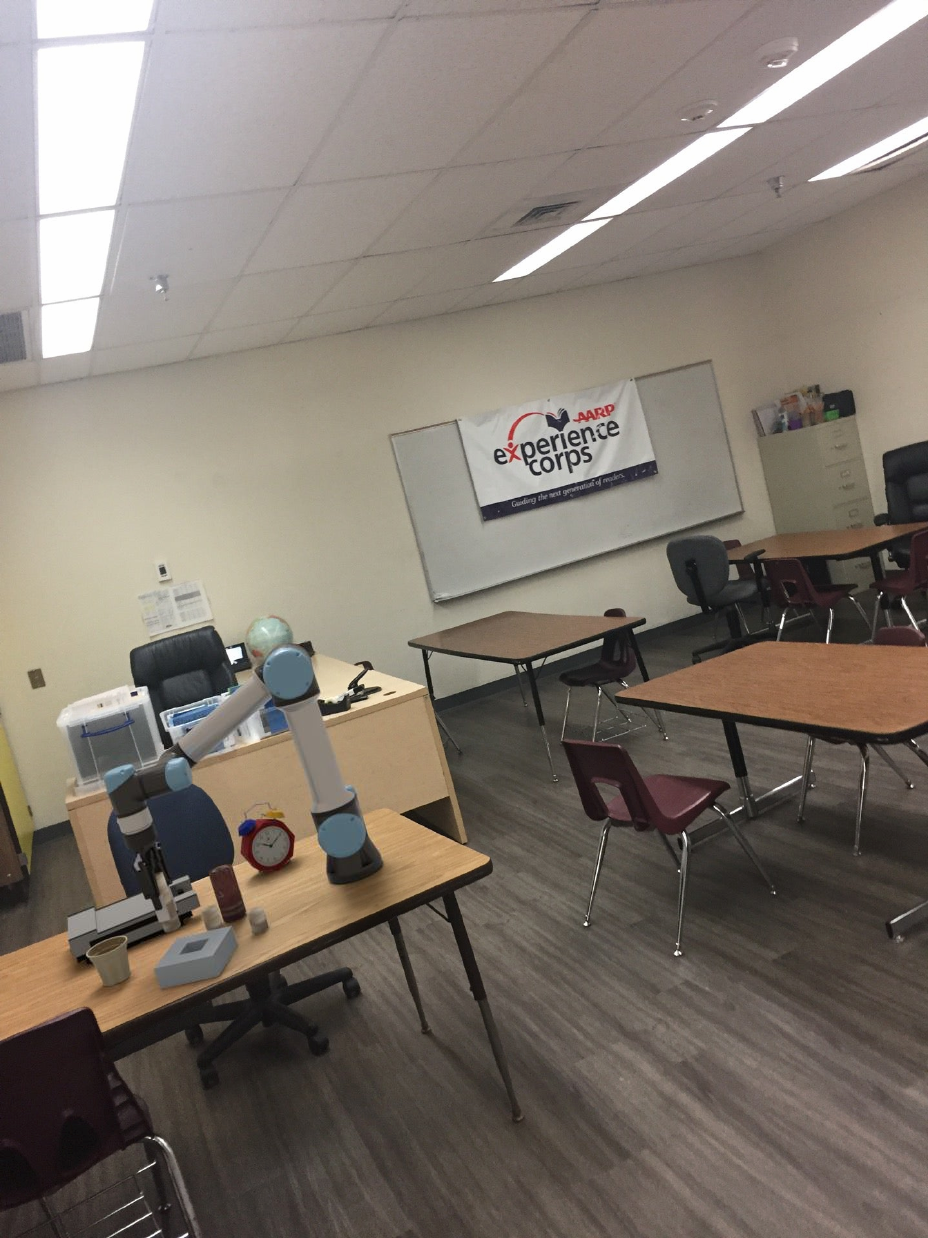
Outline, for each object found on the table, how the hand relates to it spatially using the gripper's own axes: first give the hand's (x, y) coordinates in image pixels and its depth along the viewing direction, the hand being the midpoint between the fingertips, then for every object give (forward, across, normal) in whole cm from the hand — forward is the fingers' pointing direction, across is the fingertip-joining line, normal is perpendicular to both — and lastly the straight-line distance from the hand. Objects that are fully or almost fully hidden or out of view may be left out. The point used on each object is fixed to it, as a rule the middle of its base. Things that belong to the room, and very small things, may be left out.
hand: (168, 916), depth 227 cm
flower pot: (+8, +10, -12) cm, 18 cm away
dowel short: (+9, 0, +21) cm, 23 cm away
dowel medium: (+9, 0, +10) cm, 14 cm away
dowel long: (+3, 0, 0) cm, 3 cm away
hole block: (+9, +13, +10) cm, 19 cm away
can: (+9, -11, +11) cm, 18 cm away
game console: (+9, -17, -18) cm, 26 cm away
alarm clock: (+9, -41, +13) cm, 44 cm away
